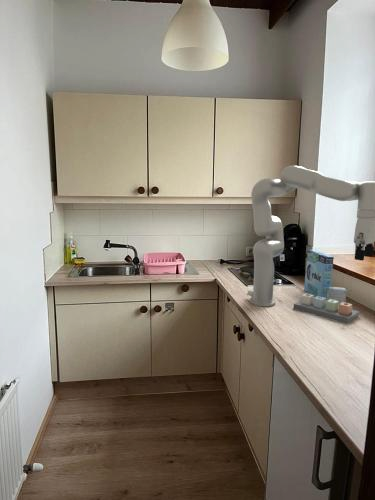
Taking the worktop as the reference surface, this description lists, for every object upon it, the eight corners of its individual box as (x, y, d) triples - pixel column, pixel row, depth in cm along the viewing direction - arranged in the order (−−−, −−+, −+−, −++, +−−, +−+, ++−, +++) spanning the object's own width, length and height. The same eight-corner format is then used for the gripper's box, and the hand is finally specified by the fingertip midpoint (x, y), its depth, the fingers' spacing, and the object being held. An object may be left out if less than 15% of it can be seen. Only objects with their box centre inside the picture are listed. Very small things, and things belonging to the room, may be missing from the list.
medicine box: (343, 304, 167) (345, 287, 166) (345, 307, 163) (346, 290, 161) (326, 303, 169) (327, 286, 168) (327, 306, 165) (328, 288, 164)
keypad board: (293, 308, 161) (293, 303, 160) (305, 303, 169) (305, 298, 169) (348, 324, 143) (348, 318, 143) (358, 316, 151) (359, 311, 151)
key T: (313, 306, 158) (313, 297, 157) (317, 304, 160) (317, 295, 160) (321, 308, 155) (322, 299, 154) (325, 306, 158) (326, 297, 157)
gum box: (303, 290, 191) (306, 249, 187) (312, 290, 191) (315, 249, 187) (320, 301, 172) (324, 256, 168) (330, 301, 172) (334, 256, 168)
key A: (325, 309, 154) (326, 300, 153) (329, 307, 156) (330, 298, 156) (334, 311, 151) (335, 302, 150) (338, 309, 154) (338, 300, 153)
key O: (301, 303, 162) (302, 294, 161) (305, 301, 165) (306, 292, 164) (309, 305, 159) (310, 296, 158) (313, 303, 162) (314, 294, 161)
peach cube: (338, 312, 150) (339, 303, 149) (342, 310, 152) (343, 301, 152) (347, 315, 147) (348, 306, 146) (351, 313, 150) (352, 303, 149)
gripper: (365, 213, 140) (362, 254, 143) (348, 215, 128) (345, 259, 131) (386, 213, 134) (381, 256, 137) (370, 216, 123) (365, 262, 126)
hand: (363, 258), depth 134 cm, fingers open, 9 cm apart
